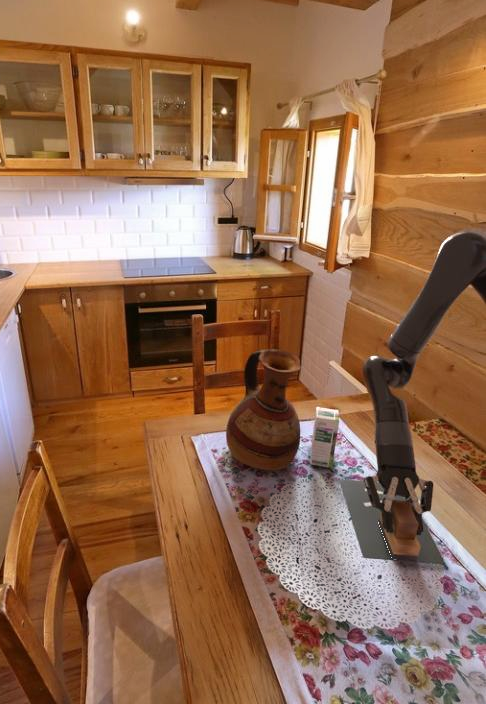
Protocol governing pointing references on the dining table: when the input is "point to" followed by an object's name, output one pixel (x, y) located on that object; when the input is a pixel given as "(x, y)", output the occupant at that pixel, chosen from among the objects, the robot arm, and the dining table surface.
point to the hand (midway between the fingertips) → (403, 533)
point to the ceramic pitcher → (266, 414)
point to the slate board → (369, 528)
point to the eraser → (402, 532)
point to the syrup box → (324, 437)
